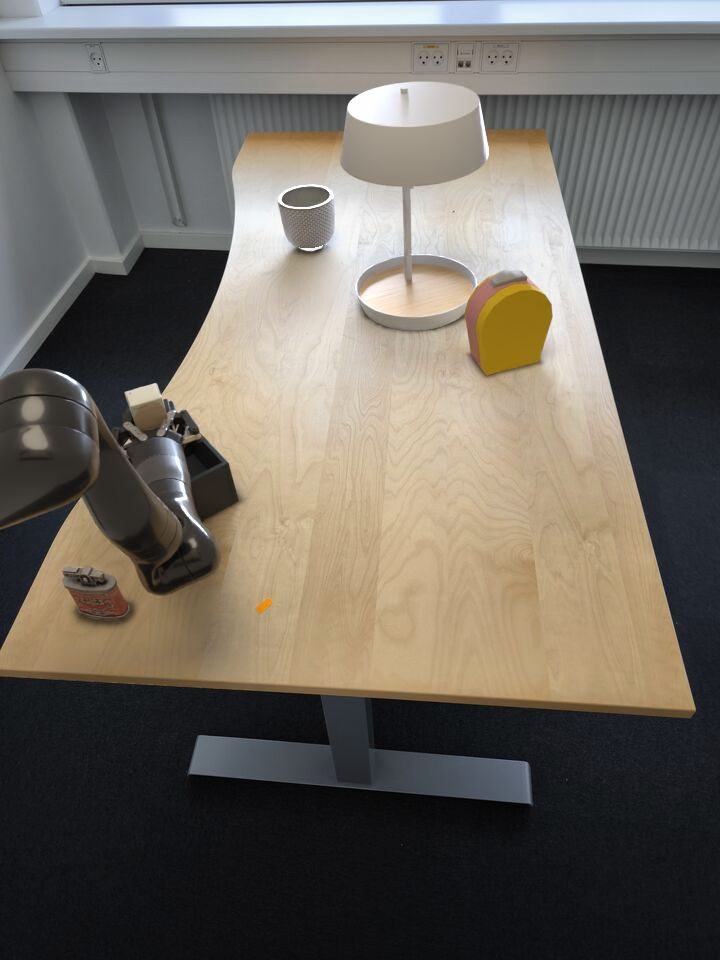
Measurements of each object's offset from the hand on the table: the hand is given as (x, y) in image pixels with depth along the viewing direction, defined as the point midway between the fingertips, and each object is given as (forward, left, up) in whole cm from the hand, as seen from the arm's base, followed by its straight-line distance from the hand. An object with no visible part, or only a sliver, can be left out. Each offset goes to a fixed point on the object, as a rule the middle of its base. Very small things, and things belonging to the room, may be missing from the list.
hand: (148, 408), depth 116 cm
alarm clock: (+69, -10, -18) cm, 72 cm away
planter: (+67, +57, -18) cm, 90 cm away
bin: (-1, -2, -18) cm, 18 cm away
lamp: (+70, +19, -18) cm, 75 cm away
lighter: (-20, -17, -18) cm, 32 cm away
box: (-1, -3, -7) cm, 7 cm away
